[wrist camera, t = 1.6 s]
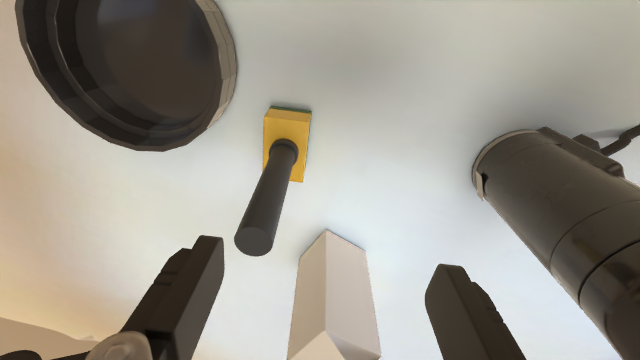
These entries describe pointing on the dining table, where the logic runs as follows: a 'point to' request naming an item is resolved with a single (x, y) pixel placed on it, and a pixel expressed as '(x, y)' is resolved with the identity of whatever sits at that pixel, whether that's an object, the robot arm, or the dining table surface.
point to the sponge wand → (274, 177)
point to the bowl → (132, 66)
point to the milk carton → (333, 304)
